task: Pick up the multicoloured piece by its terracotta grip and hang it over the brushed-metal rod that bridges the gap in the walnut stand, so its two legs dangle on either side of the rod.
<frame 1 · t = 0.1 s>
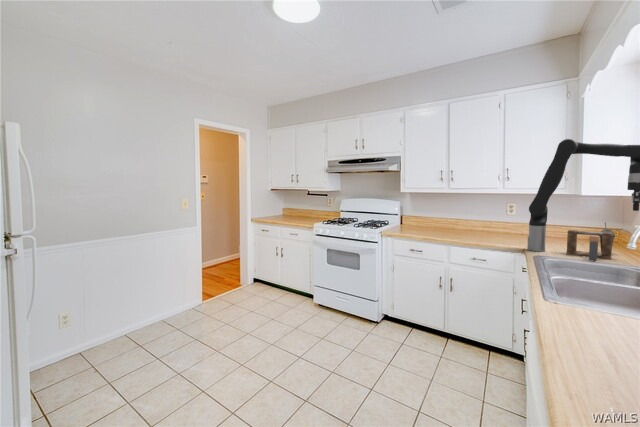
hand: (635, 210, 163), 29 cm above the worktop, tool pointing down, fingers open, 8 cm apart
beverage cup: (605, 253, 186), on the worktop
hook stand: (588, 255, 180), on the worktop
multicoloured piece: (593, 259, 171), on the worktop
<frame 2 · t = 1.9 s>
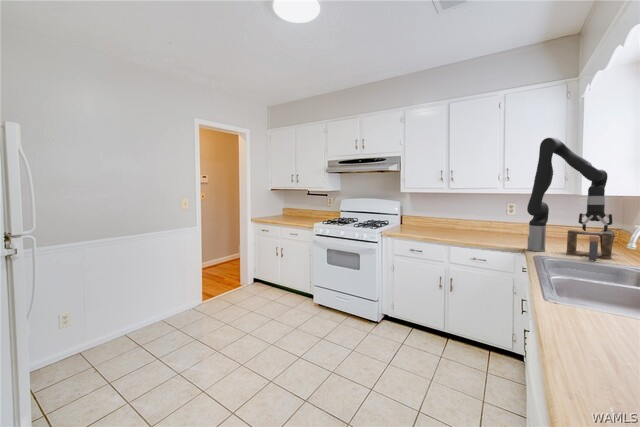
hand: (594, 231, 169), 17 cm above the worktop, tool pointing down, fingers open, 8 cm apart
nothing on the worktop moved.
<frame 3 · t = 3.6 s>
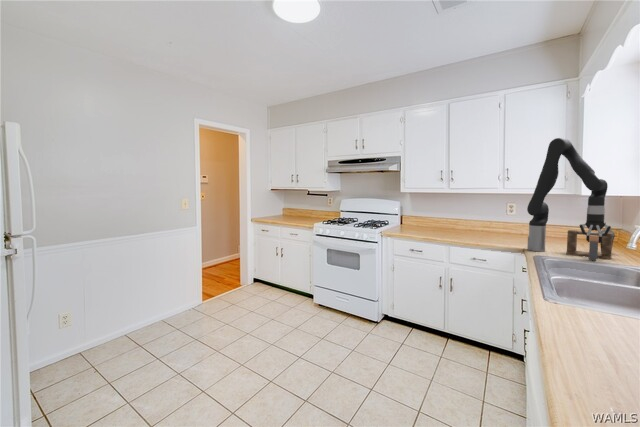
hand: (594, 242, 170), 10 cm above the worktop, tool pointing down, fingers closed on multicoloured piece, 4 cm apart
multicoloured piece: (593, 259, 171), on the worktop, touching gripper
everything else where it was.
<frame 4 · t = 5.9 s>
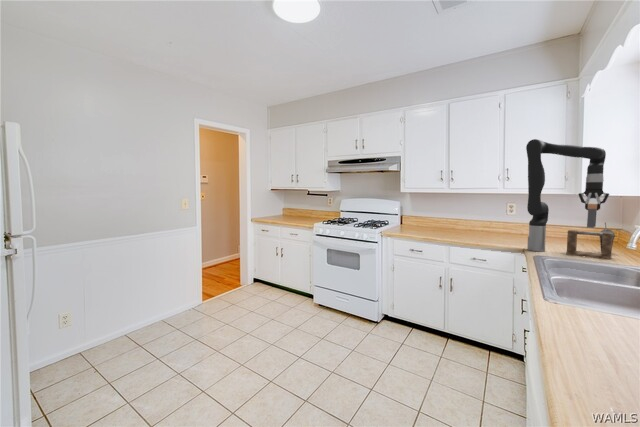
hand: (592, 210, 174), 29 cm above the worktop, tool pointing down, fingers closed on multicoloured piece, 4 cm apart
multicoloured piece: (591, 226, 175), point 19 cm above the worktop, touching gripper
everything else where it was.
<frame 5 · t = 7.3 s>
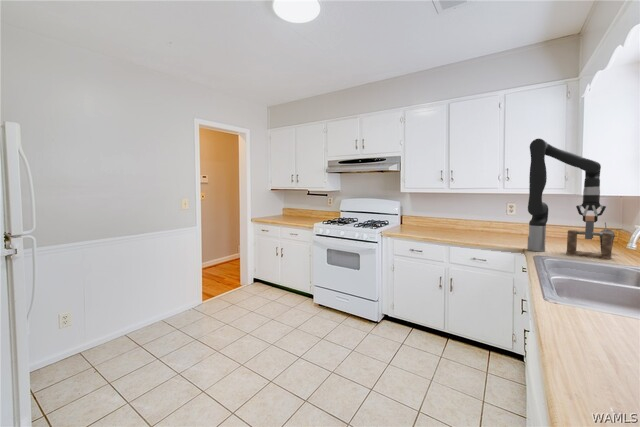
hand: (589, 221, 179), 21 cm above the worktop, tool pointing down, fingers closed on multicoloured piece, 4 cm apart
multicoloured piece: (589, 238, 179), point 11 cm above the worktop, touching gripper
everything else where it was.
when the fingers open (18 cm above the worktop, at t = 8.4 s): multicoloured piece drops 1 cm, resting on hook stand.
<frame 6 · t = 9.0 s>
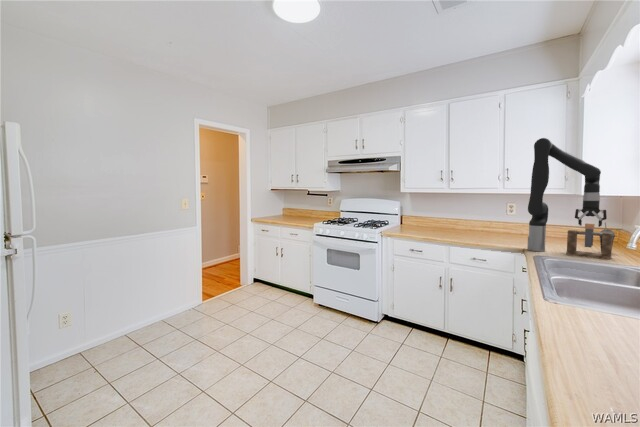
hand: (589, 226, 179), 19 cm above the worktop, tool pointing down, fingers open, 8 cm apart
multicoloured piece: (588, 246, 180), point 6 cm above the worktop, touching hook stand
everything else where it was.
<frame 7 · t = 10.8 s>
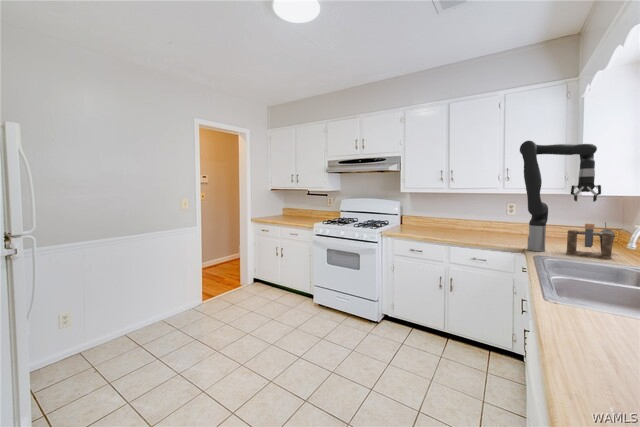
hand: (585, 201, 185), 34 cm above the worktop, tool pointing down, fingers open, 8 cm apart
nothing on the worktop moved.
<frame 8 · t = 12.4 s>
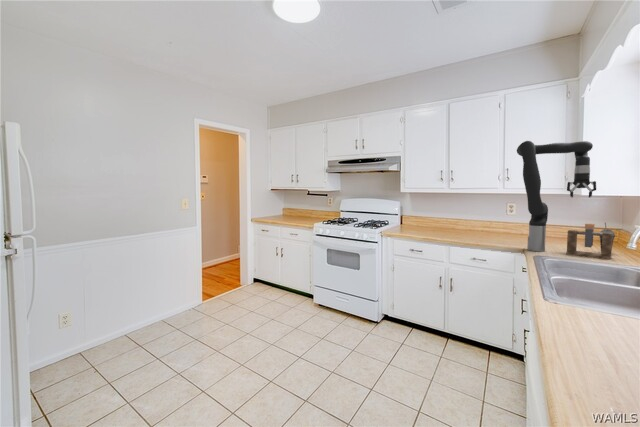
hand: (580, 197, 190), 36 cm above the worktop, tool pointing down, fingers open, 8 cm apart
nothing on the worktop moved.
at the end: multicoloured piece 0.1 cm off-centre on the hook stand, point 6.0 cm above the hook stand's base; multicoloured piece touching hook stand; the gripper is holding nothing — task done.
